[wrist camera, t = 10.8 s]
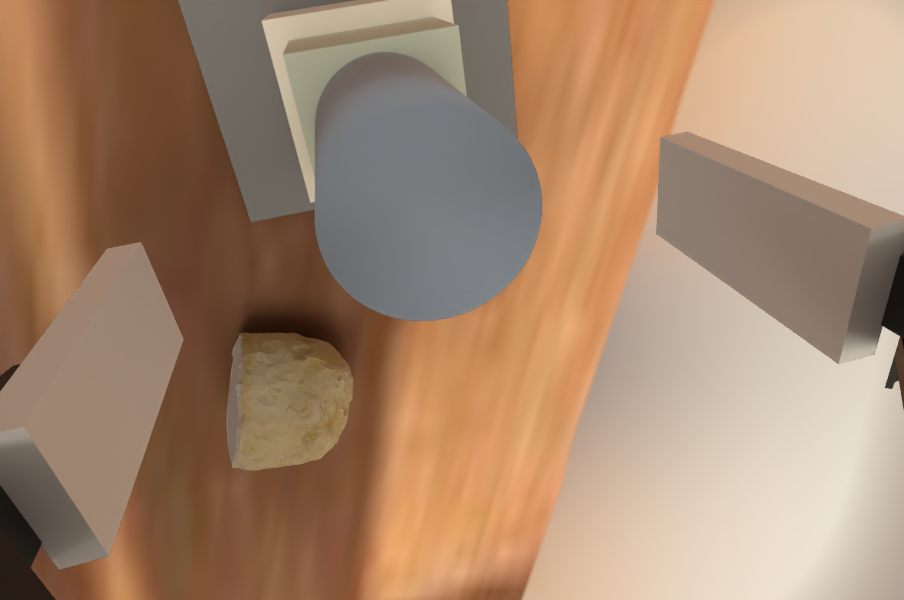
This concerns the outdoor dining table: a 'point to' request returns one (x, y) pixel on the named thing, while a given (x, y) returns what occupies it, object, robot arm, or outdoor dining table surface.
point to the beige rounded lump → (285, 400)
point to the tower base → (371, 7)
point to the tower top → (330, 52)
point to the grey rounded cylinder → (418, 191)
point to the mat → (260, 101)
